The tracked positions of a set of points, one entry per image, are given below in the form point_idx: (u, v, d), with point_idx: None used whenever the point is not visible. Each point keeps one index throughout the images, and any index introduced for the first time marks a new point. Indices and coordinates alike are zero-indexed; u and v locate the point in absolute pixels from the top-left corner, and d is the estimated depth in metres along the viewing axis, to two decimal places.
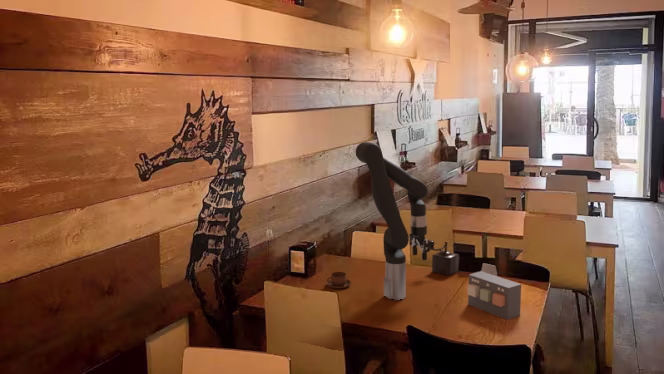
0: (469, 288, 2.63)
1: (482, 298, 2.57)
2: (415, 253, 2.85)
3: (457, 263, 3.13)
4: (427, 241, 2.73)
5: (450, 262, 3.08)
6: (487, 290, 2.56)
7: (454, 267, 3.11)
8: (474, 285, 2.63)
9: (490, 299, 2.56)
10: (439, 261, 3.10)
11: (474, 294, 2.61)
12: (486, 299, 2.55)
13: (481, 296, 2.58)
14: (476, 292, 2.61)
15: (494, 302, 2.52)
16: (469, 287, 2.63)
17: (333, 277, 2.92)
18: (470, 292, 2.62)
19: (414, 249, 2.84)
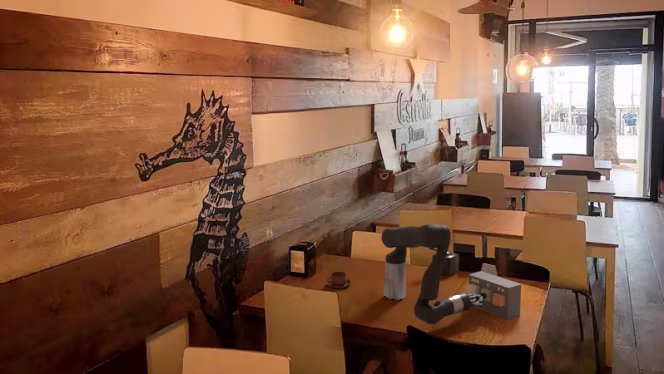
0: (469, 288, 2.63)
1: None
2: None
3: (457, 263, 3.13)
4: None
5: (450, 262, 3.08)
6: (488, 290, 2.57)
7: (454, 267, 3.11)
8: (474, 285, 2.63)
9: (491, 299, 2.56)
10: None
11: None
12: (487, 299, 2.56)
13: None
14: (476, 292, 2.61)
15: (494, 302, 2.52)
16: (469, 287, 2.63)
17: (333, 277, 2.92)
18: (470, 292, 2.62)
19: None
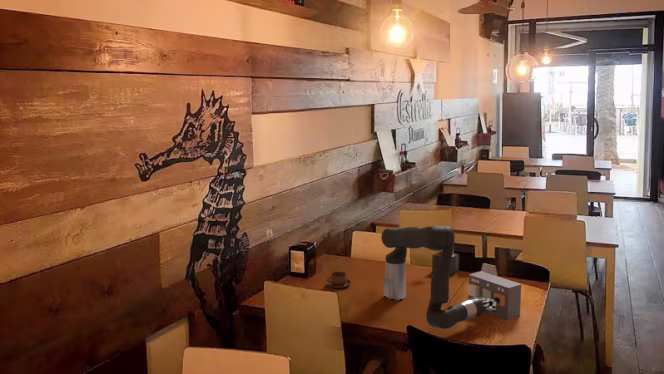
0: (469, 288, 2.63)
1: (485, 297, 2.58)
2: None
3: (457, 263, 3.13)
4: None
5: None
6: None
7: (454, 267, 3.11)
8: (474, 285, 2.63)
9: None
10: (439, 261, 3.10)
11: (474, 294, 2.61)
12: None
13: (484, 295, 2.58)
14: (476, 292, 2.61)
15: None
16: (469, 287, 2.63)
17: (333, 277, 2.92)
18: (470, 292, 2.62)
19: None
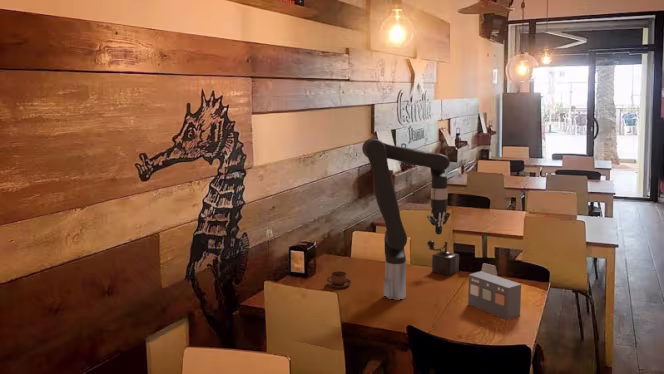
0: (472, 287, 2.64)
1: (485, 297, 2.58)
2: None
3: (457, 263, 3.13)
4: (430, 218, 2.72)
5: (450, 262, 3.08)
6: None
7: (454, 267, 3.11)
8: None
9: None
10: (439, 261, 3.10)
11: (477, 293, 2.62)
12: (489, 298, 2.56)
13: (484, 295, 2.58)
14: (479, 291, 2.62)
15: (497, 301, 2.53)
16: (472, 286, 2.64)
17: (333, 276, 2.93)
18: (473, 291, 2.63)
19: None
